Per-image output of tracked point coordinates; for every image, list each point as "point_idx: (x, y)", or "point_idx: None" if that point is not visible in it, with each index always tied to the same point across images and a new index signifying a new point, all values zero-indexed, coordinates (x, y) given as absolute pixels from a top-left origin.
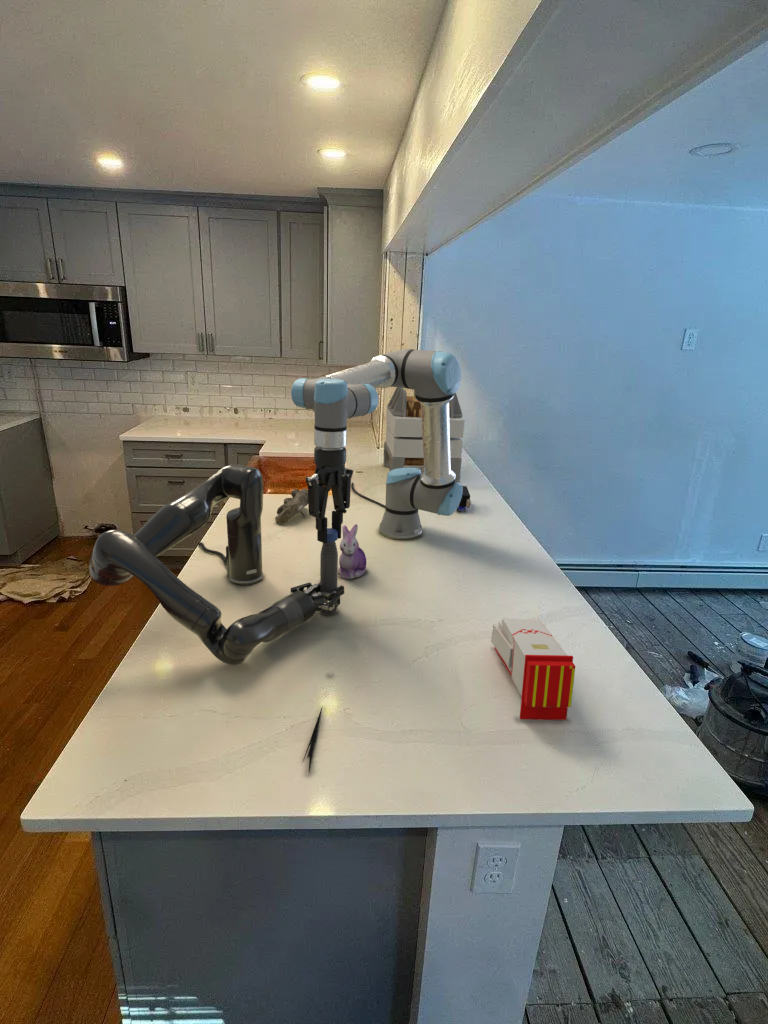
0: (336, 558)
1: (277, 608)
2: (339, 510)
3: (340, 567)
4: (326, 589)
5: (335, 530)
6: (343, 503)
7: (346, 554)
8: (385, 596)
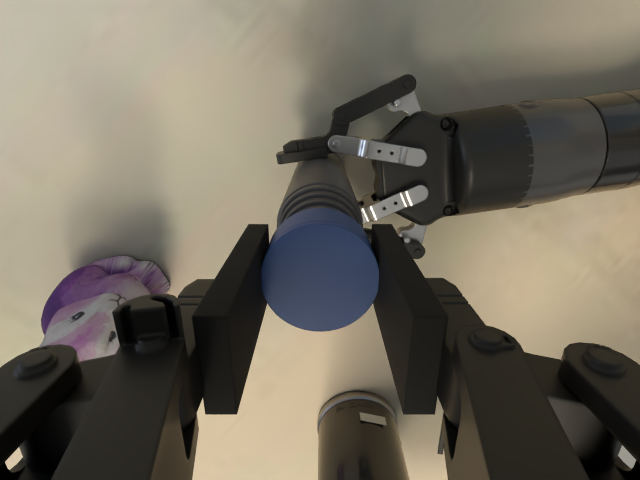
0: (309, 181)
1: (615, 142)
2: (188, 362)
3: None
4: (345, 173)
5: (277, 263)
6: (90, 410)
7: None
8: (129, 116)
